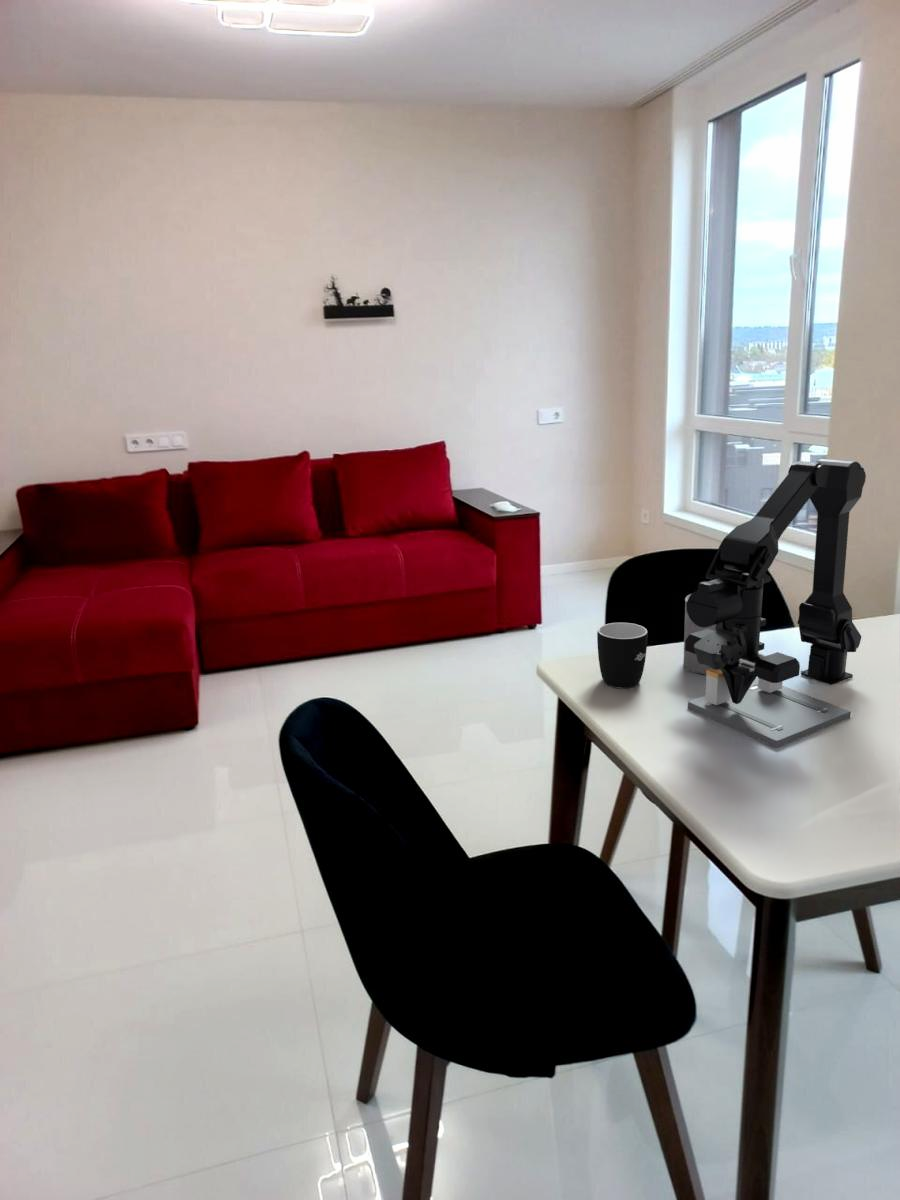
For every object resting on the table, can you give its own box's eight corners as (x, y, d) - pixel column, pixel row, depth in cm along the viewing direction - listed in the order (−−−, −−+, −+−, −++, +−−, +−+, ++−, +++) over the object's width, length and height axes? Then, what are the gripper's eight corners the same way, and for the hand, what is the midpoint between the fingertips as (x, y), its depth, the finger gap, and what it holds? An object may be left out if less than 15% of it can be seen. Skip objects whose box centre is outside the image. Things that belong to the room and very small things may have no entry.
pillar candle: (721, 655, 162) (724, 582, 157) (745, 673, 152) (749, 596, 148) (674, 660, 160) (676, 587, 156) (695, 678, 151) (698, 601, 147)
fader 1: (718, 695, 139) (720, 665, 138) (730, 700, 137) (731, 669, 136) (704, 700, 138) (706, 669, 136) (716, 705, 136) (718, 674, 134)
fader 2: (770, 683, 143) (772, 654, 142) (782, 688, 141) (784, 658, 140) (757, 688, 142) (759, 658, 140) (769, 693, 140) (771, 662, 138)
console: (759, 683, 148) (759, 676, 147) (850, 718, 133) (851, 710, 132) (687, 707, 139) (688, 700, 139) (776, 748, 124) (776, 740, 124)
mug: (638, 694, 145) (640, 641, 142) (590, 687, 149) (590, 635, 147) (655, 670, 155) (657, 620, 152) (610, 664, 160) (610, 615, 157)
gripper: (662, 608, 133) (659, 696, 138) (755, 639, 118) (749, 737, 123) (710, 596, 139) (706, 680, 143) (805, 623, 123) (797, 717, 128)
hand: (736, 702), depth 134 cm, fingers closed
